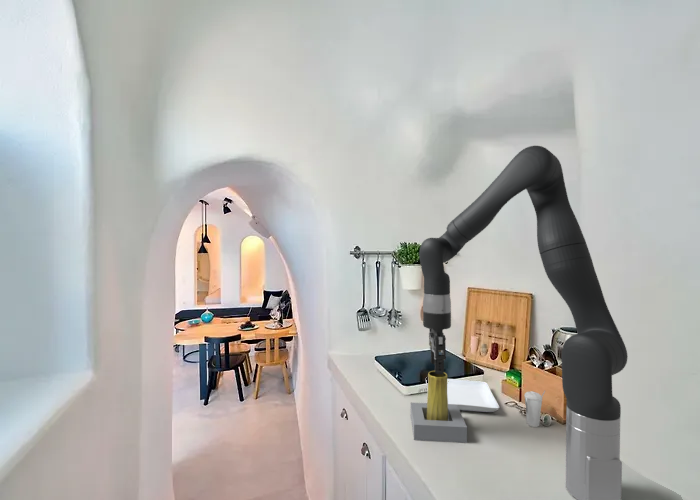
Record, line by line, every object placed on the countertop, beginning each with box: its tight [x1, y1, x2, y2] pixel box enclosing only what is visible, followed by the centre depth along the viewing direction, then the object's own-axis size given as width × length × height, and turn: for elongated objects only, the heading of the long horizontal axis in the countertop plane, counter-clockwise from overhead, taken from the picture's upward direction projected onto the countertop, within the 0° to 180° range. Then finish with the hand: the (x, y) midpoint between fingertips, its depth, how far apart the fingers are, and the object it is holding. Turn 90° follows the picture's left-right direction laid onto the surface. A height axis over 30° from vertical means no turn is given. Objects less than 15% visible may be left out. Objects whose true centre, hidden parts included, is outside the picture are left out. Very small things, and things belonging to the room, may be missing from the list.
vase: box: [426, 370, 448, 421], centre depth 102 cm, size 6×6×14 cm
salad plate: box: [425, 378, 500, 413], centre depth 121 cm, size 21×21×3 cm
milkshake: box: [524, 390, 546, 428], centre depth 104 cm, size 4×5×10 cm
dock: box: [410, 402, 468, 444], centre depth 102 cm, size 14×14×4 cm
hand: (436, 368), depth 102 cm, fingers open, 8 cm apart
